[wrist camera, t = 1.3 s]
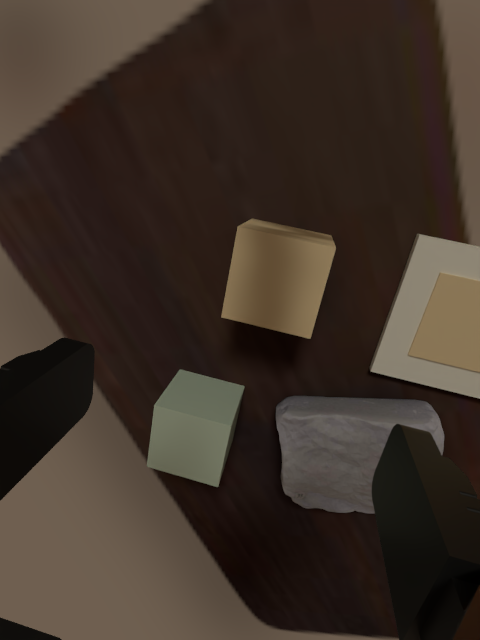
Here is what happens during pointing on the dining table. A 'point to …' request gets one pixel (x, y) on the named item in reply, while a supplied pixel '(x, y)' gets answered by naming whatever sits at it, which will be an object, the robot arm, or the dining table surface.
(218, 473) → the sage green cube
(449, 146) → the dining table surface
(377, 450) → the stone block
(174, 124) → the dining table surface
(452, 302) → the card
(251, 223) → the maple cube
